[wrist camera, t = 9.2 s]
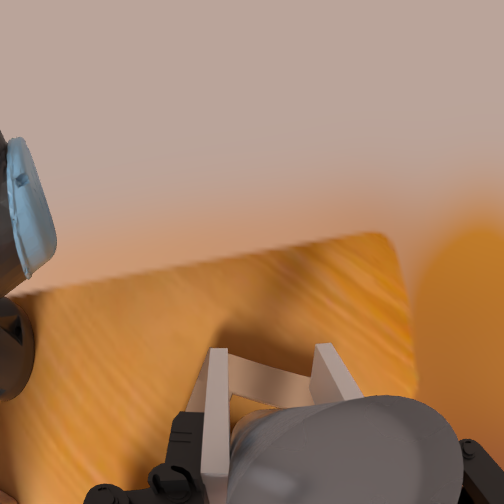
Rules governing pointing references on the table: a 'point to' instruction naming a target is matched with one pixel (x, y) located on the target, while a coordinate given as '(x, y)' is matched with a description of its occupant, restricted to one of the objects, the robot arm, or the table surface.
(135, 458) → the table surface
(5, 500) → the wooden block
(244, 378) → the square block with hole
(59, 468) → the table surface
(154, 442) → the table surface
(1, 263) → the robot arm
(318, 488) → the peg
